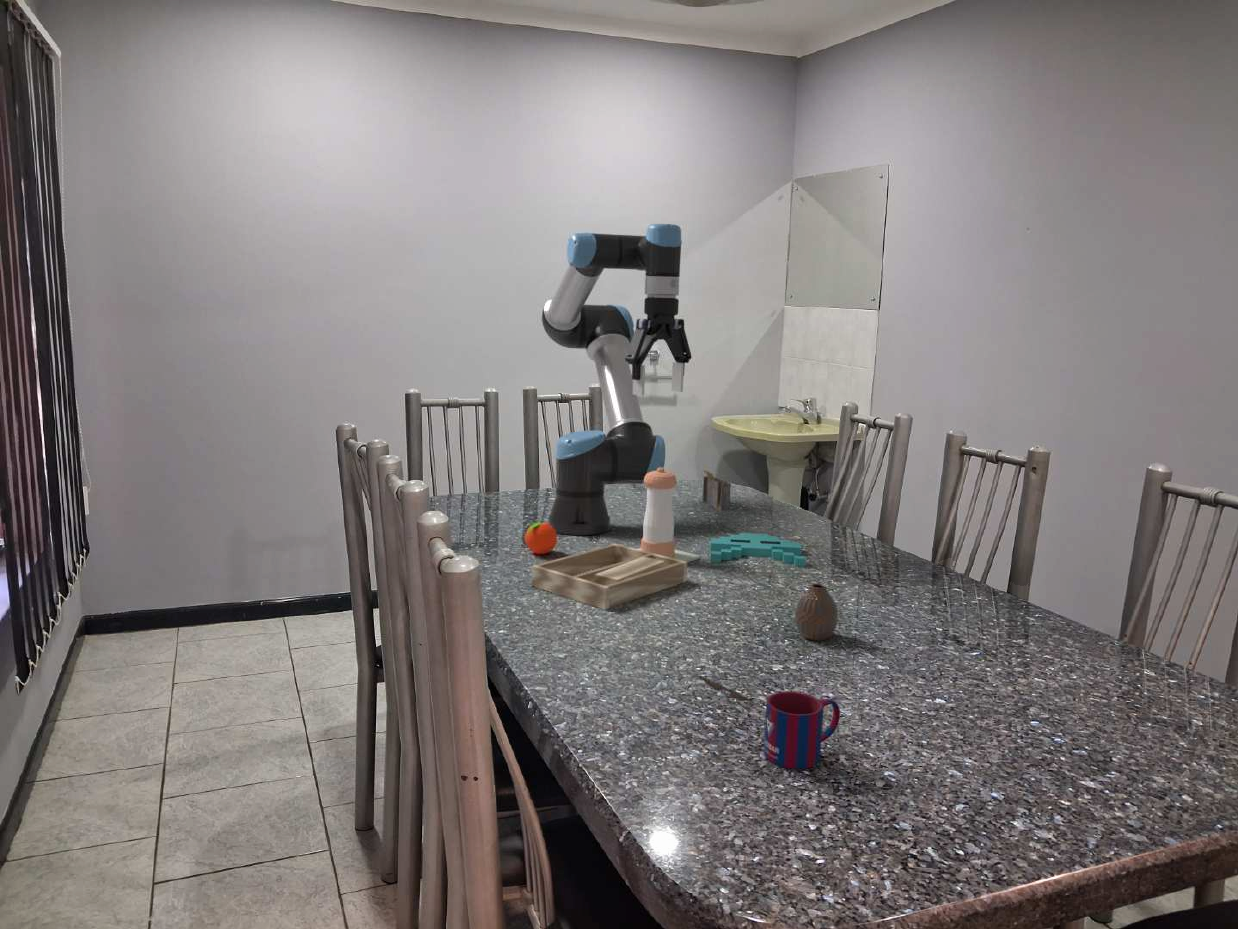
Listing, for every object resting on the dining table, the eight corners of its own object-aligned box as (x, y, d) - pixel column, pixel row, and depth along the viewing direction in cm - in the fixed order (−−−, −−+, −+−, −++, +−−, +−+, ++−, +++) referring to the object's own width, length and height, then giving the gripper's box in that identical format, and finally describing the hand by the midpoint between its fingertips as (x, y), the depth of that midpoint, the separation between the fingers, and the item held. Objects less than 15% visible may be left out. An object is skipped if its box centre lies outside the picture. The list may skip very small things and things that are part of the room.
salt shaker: (671, 561, 189) (675, 471, 186) (637, 558, 191) (640, 469, 188) (676, 552, 196) (680, 466, 193) (644, 549, 198) (646, 464, 195)
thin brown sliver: (759, 705, 123) (759, 702, 123) (744, 710, 122) (745, 707, 122) (703, 675, 133) (703, 672, 133) (689, 679, 132) (689, 676, 132)
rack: (531, 586, 172) (531, 566, 171) (614, 562, 190) (614, 543, 189) (604, 609, 160) (605, 588, 159) (686, 581, 178) (687, 561, 177)
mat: (615, 557, 193) (615, 555, 193) (653, 546, 203) (653, 544, 203) (662, 570, 185) (662, 567, 185) (699, 558, 194) (700, 555, 194)
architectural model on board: (701, 503, 252) (702, 469, 250) (710, 503, 253) (712, 468, 251) (719, 512, 241) (720, 476, 240) (729, 511, 242) (731, 476, 241)
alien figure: (805, 569, 190) (796, 544, 210) (806, 558, 190) (797, 535, 209) (710, 564, 192) (710, 540, 212) (710, 553, 192) (710, 531, 211)
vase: (838, 632, 152) (841, 582, 150) (834, 646, 145) (837, 594, 144) (797, 627, 154) (800, 577, 152) (791, 640, 147) (794, 589, 146)
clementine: (538, 560, 190) (539, 528, 188) (514, 554, 194) (514, 522, 192) (563, 553, 196) (564, 521, 195) (539, 547, 200) (540, 516, 199)
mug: (754, 746, 111) (757, 694, 110) (824, 736, 114) (828, 685, 113) (780, 773, 105) (783, 718, 104) (854, 761, 108) (858, 708, 107)
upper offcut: (594, 587, 166) (594, 574, 166) (643, 568, 179) (643, 556, 179) (616, 593, 163) (616, 579, 163) (664, 573, 176) (664, 561, 176)
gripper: (637, 296, 186) (634, 398, 190) (709, 298, 204) (705, 391, 208) (610, 295, 191) (608, 394, 195) (683, 297, 209) (679, 388, 213)
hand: (658, 393), depth 202 cm, fingers open, 13 cm apart
